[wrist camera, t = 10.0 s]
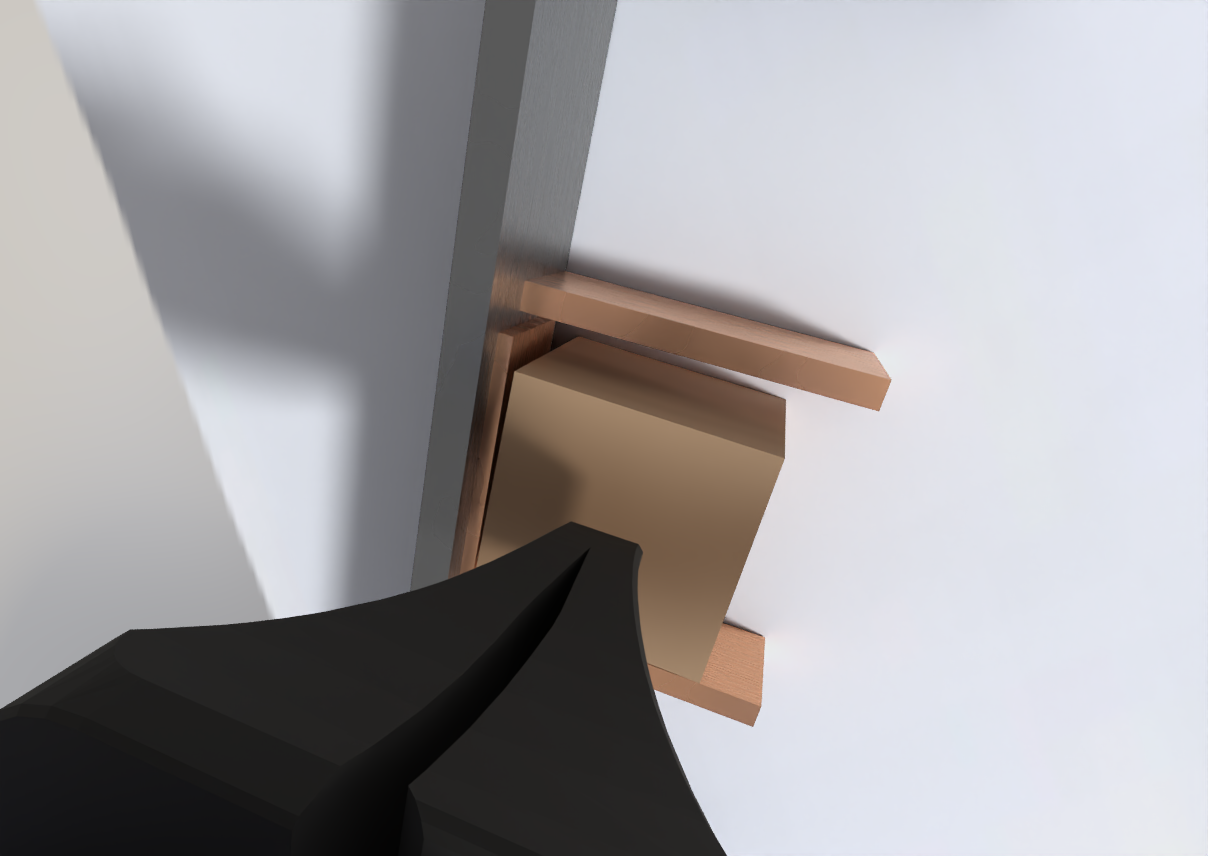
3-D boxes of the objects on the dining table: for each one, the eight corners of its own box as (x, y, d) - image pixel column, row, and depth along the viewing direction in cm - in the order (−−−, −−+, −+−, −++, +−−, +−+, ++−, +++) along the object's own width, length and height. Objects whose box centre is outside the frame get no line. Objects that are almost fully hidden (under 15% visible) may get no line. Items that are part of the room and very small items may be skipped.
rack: (681, 854, 19) (656, 1004, 16) (448, 755, 21) (374, 872, 17) (1037, -76, 11) (1166, -228, 7) (602, -138, 12) (523, -292, 9)
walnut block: (720, 579, 16) (699, 683, 13) (539, 513, 17) (471, 594, 13) (785, 398, 14) (784, 458, 11) (580, 334, 15) (514, 371, 12)
